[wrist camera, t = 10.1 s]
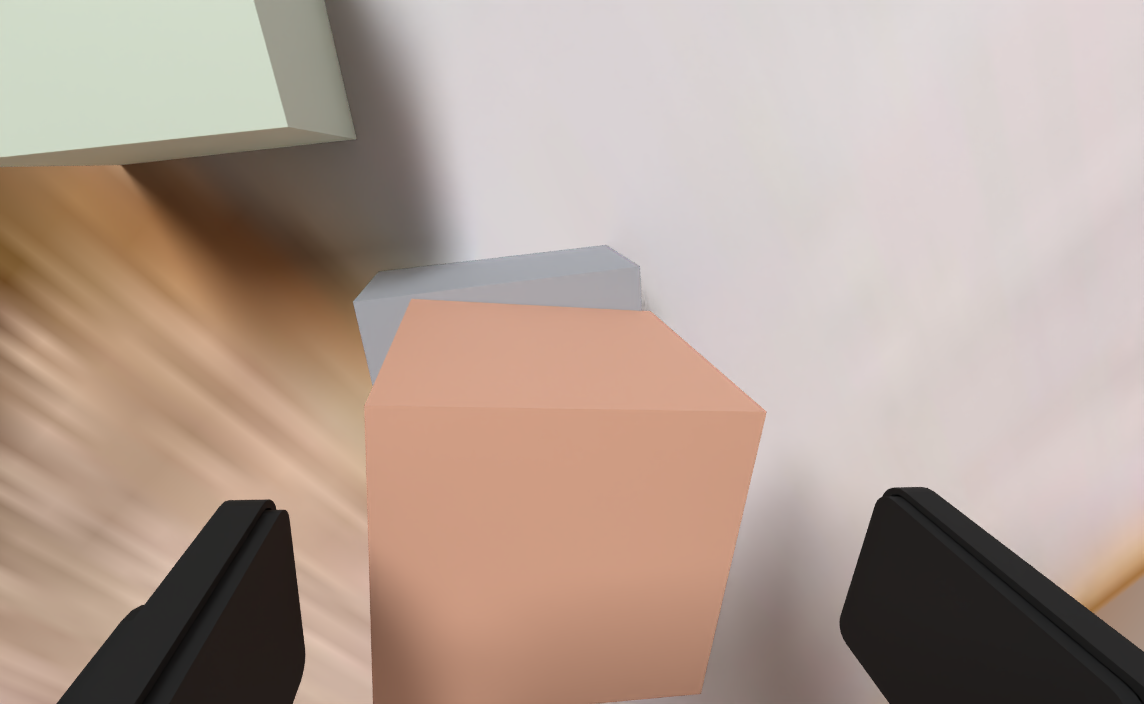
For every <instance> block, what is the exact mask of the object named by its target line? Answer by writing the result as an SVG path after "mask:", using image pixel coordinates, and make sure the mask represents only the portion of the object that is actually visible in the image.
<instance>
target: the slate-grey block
mask: <svg viewBox="0 0 1144 704" xmlns="http://www.w3.org/2000/svg"><path fill="white" fill-rule="evenodd" d="M411 299H425V300H444V301H463V302H483V303H502V304H521V305H540V306H559V307H578V308H597V309H617V310H636V311H642V301H641V278H640V266H639V265H637V264H635V263H634V262H632V261H631V260H629V259H628V258H626V257H624V256H623V255H621V254H620V253H618V252H617V251H615V250H613V249H612V248H610V247H609V246H607V245H602V246H593V247H585V248H576V249H567V250H559V251H550V252H542V253H533V254H525V255H516V256H508V257H499V258H491V259H482V260H474V261H465V262H456V263H448V264H439V265H431V266H422V267H414V268H405V269H397V270H388V271H380V272H378V273H377V274H376V275H375V276H374V277H373V279H372V280H371V281H370V282H369V283H368V285H367V286H366V287H365V288H364V289H363V291H362V292H361V293H360V294H359V295H358V296H357V298H356V299H355V300H354V301H353V304H354V308H355V313H356V317H357V321H358V325H359V330H360V334H361V338H362V342H363V347H364V351H365V355H366V359H367V364H368V368H369V372H370V376H371V381H372V385H374V383H375V380H376V378H377V376H378V373H379V371H380V369H381V367H382V364H383V362H384V360H385V358H386V355H387V353H388V351H389V348H390V346H391V344H392V342H393V339H394V337H395V335H396V332H397V330H398V328H399V326H400V323H401V321H402V319H403V316H404V314H405V312H406V310H407V307H408V305H409V303H410V301H411Z"/></svg>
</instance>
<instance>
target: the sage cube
mask: <svg viewBox="0 0 1144 704" xmlns="http://www.w3.org/2000/svg"><path fill="white" fill-rule="evenodd" d="M354 139H356V134H355V130H354V126H353V121H352V117H351V113H350V109H349V104H348V100H347V96H346V91H345V87H344V83H343V79H342V74H341V70H340V66H339V61H338V57H337V53H336V48H335V44H334V40H333V36H332V31H331V27H330V23H329V18H328V14H327V10H326V6H325V1H324V0H0V167H18V166H90V165H126V164H135V163H144V162H154V161H163V160H172V159H181V158H190V157H199V156H208V155H217V154H226V153H235V152H244V151H254V150H263V149H272V148H281V147H290V146H299V145H308V144H317V143H326V142H335V141H344V140H354Z"/></svg>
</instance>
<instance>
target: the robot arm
mask: <svg viewBox="0 0 1144 704" xmlns="http://www.w3.org/2000/svg"><path fill="white" fill-rule="evenodd" d="M840 630H841V634H842V637H843V639H844V641H845V642H846V644H847V646H848V647H849V648H850V650H851V651H852V652H853V654H854V655H855V657H856V658H857V659H858V661H859V662H860V663H861V665H862V666H863V668H864V669H865V670H866V672H867V673H868V674H869V676H870V677H871V679H872V680H873V681H874V683H875V684H876V686H877V687H878V688H879V690H880V691H881V692H882V694H883V695H884V697H885V698H886V699H887V701H888V702H889V703H890V704H1144V652H1143V651H1142V650H1141V649H1139V648H1138V647H1137V646H1135V645H1134V644H1133V643H1131V642H1130V641H1129V640H1128V639H1126V638H1125V637H1124V636H1122V635H1121V634H1120V633H1118V632H1117V631H1116V630H1115V629H1113V628H1112V627H1111V626H1109V625H1108V624H1107V623H1105V622H1104V621H1103V620H1101V619H1100V618H1099V617H1097V616H1096V615H1095V614H1094V613H1092V612H1091V611H1090V610H1088V609H1087V608H1086V607H1084V606H1083V605H1082V604H1080V603H1079V602H1078V601H1077V600H1075V599H1074V598H1073V597H1071V596H1070V595H1069V594H1067V593H1066V592H1065V591H1063V590H1062V589H1061V588H1060V587H1058V586H1057V585H1056V584H1054V583H1053V582H1052V581H1050V580H1049V579H1048V578H1046V577H1045V576H1044V575H1042V574H1041V573H1040V572H1039V571H1037V570H1036V569H1035V568H1033V567H1032V566H1031V565H1029V564H1028V563H1027V562H1025V561H1024V560H1023V559H1022V558H1020V557H1019V556H1018V555H1016V554H1015V553H1014V552H1012V551H1011V550H1010V549H1008V548H1007V547H1006V546H1005V545H1003V544H1002V543H1001V542H999V541H998V540H997V539H995V538H994V537H993V536H991V535H990V534H989V533H987V532H986V531H985V530H984V529H982V528H981V527H980V526H978V525H977V524H976V523H974V522H973V521H972V520H970V519H969V518H968V517H967V516H965V515H964V514H963V513H961V512H960V511H959V510H957V509H956V508H955V507H953V506H952V505H951V504H950V503H948V502H947V501H946V500H944V499H943V498H942V497H940V496H939V495H938V494H936V493H935V492H934V491H932V490H930V489H928V488H924V487H901V488H891V489H888V490H887V491H886V492H885V493H884V494H883V496H882V497H881V498H879V499H878V500H877V502H876V504H875V507H874V510H873V513H872V517H871V520H870V523H869V526H868V529H867V533H866V536H865V539H864V542H863V545H862V549H861V552H860V555H859V558H858V562H857V565H856V568H855V571H854V574H853V578H852V581H851V584H850V587H849V590H848V594H847V597H846V600H845V603H844V607H843V610H842V613H841V616H840ZM304 664H305V645H304V636H303V628H302V620H301V611H300V603H299V594H298V586H297V578H296V569H295V561H294V553H293V544H292V536H291V527H290V519H289V514H288V512H287V511H286V510H276V506H275V504H274V502H273V501H272V500H229V501H225V502H224V503H223V504H222V505H221V506H220V507H219V508H218V509H217V511H216V512H215V513H214V515H213V516H212V517H211V519H210V520H209V521H208V522H207V524H206V525H205V526H204V528H203V529H202V530H201V532H200V533H199V534H198V536H197V537H196V538H195V539H194V541H193V542H192V543H191V545H190V546H189V547H188V549H187V550H186V551H185V553H184V554H183V555H182V557H181V558H180V559H179V560H178V562H177V563H176V564H175V566H174V567H173V568H172V570H171V571H170V572H169V574H168V575H167V576H166V577H165V579H164V580H163V581H162V583H161V584H160V585H159V587H158V588H157V589H156V591H155V592H154V593H153V595H152V596H151V597H150V598H149V600H148V601H147V602H146V604H145V605H141V606H139V607H137V608H136V609H134V610H132V611H131V612H130V613H129V614H128V615H127V616H126V617H125V618H124V619H123V620H122V621H121V622H120V624H119V625H118V626H117V627H116V629H115V630H114V631H113V632H112V634H111V635H110V636H109V638H108V639H107V640H106V641H105V643H104V644H103V645H102V646H101V648H100V649H99V650H98V652H97V653H96V654H95V655H94V657H93V658H92V659H91V660H90V662H89V663H88V664H87V666H86V667H85V668H84V669H83V671H82V672H81V673H80V674H79V676H78V677H77V678H76V680H75V681H74V682H73V683H72V685H71V686H70V687H69V688H68V690H67V691H66V692H65V694H64V695H63V696H62V697H61V699H60V700H59V701H58V702H57V704H293V701H294V699H295V696H296V693H297V690H298V687H299V685H300V682H301V678H302V675H303V670H304Z"/></svg>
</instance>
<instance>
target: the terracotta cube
mask: <svg viewBox="0 0 1144 704" xmlns="http://www.w3.org/2000/svg"><path fill="white" fill-rule="evenodd" d="M364 409H365V443H366V477H367V512H368V546H369V581H370V615H371V649H372V684H373V704H595V703H606V702H617V701H628V700H639V699H650V698H661V697H672V696H683V695H693V694H701V690H702V686H703V682H704V677H705V673H706V669H707V664H708V660H709V656H710V652H711V647H712V643H713V639H714V635H715V630H716V626H717V622H718V617H719V613H720V609H721V605H722V600H723V596H724V592H725V588H726V583H727V579H728V575H729V570H730V566H731V562H732V558H733V553H734V549H735V545H736V540H737V536H738V532H739V528H740V523H741V519H742V515H743V511H744V506H745V502H746V498H747V493H748V489H749V485H750V481H751V476H752V472H753V468H754V464H755V459H756V455H757V451H758V446H759V442H760V438H761V434H762V429H763V425H764V421H765V417H766V411H765V410H764V409H763V408H762V407H760V406H759V405H758V404H757V403H756V402H755V401H754V400H752V399H751V398H750V397H749V396H748V395H747V394H745V393H744V392H743V391H742V390H741V389H740V388H739V387H737V386H736V385H735V384H734V383H733V382H732V381H730V380H729V379H728V378H727V377H726V376H725V375H724V374H722V373H721V372H720V371H719V370H718V369H717V368H716V367H714V366H713V365H712V364H711V363H710V362H709V361H707V360H706V359H705V358H704V357H703V356H702V355H701V354H699V353H698V352H697V351H696V350H695V349H694V348H692V347H691V346H690V345H689V344H688V343H687V342H686V341H684V340H683V339H682V338H681V337H680V336H679V335H677V334H676V333H675V332H674V331H673V330H672V329H671V328H669V327H668V326H667V325H666V324H665V323H664V322H662V321H661V320H660V319H659V318H658V317H657V316H656V315H654V314H653V313H652V312H651V311H636V310H617V309H597V308H578V307H559V306H540V305H521V304H502V303H483V302H463V301H444V300H425V299H411V301H410V303H409V305H408V307H407V310H406V312H405V314H404V316H403V319H402V321H401V323H400V326H399V328H398V330H397V332H396V335H395V337H394V339H393V342H392V344H391V346H390V348H389V351H388V353H387V355H386V358H385V360H384V362H383V364H382V367H381V369H380V371H379V373H378V376H377V378H376V380H375V383H374V385H373V387H372V389H371V392H370V394H369V396H368V399H367V401H366V403H365V405H364Z"/></svg>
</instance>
